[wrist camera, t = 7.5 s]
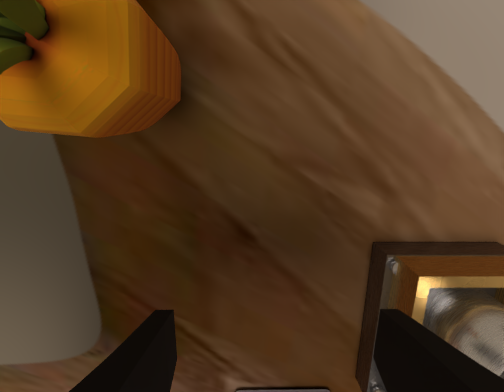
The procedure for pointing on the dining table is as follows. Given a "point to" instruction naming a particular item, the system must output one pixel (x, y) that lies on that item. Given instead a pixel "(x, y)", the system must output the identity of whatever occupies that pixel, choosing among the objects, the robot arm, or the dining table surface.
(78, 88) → the carrot
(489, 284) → the grey and gold fixture
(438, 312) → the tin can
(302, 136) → the dining table surface
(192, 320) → the dining table surface
